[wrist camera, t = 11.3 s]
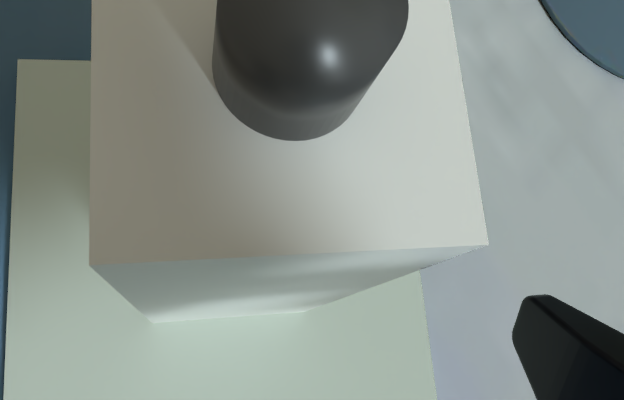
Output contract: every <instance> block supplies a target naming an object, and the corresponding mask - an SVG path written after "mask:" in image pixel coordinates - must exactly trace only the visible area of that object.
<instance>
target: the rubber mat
mask: <svg viewBox="0 0 624 400" xmlns="http://www.w3.org/2000/svg"><path fill="white" fill-rule="evenodd" d="M90 111H91V61H80V60H33V59H18V64H17V88H16V112H15V135H14V159H13V183H12V207H11V231H10V254H9V278H8V302H7V326H6V350H5V373H4V397H3V400H437V395H436V388H435V380H434V373H433V365H432V358H431V351H430V343H429V336H428V328H427V321H426V313H425V306H424V298H423V291H422V283H421V276H420V270H418V271H415V272H413V273H410V274H407V275H404V276H402V277H399V278H396V279H393V280H391V281H388V282H385V283H382V284H380V285H377V286H374V287H371V288H369V289H366V290H363V291H360V292H358V293H355V294H352V295H349V296H347V297H344V298H341V299H338V300H336V301H333V302H330V303H327V304H325V305H322V306H319V307H316V308H314V309H311V310H308V311H305V312H295V313H281V314H268V315H255V316H241V317H228V318H214V319H201V320H187V321H174V322H160V323H152V322H150V321H149V320H148V319H147V318H146V317H145V316H144V315H143V314H142V313H141V312H139V311H138V310H137V309H136V308H135V307H134V306H133V305H132V304H131V303H130V302H128V301H127V300H126V299H125V298H124V297H123V296H122V295H121V294H120V293H119V292H118V291H116V290H115V289H114V288H113V287H112V286H111V285H110V284H109V283H108V282H107V281H105V280H104V279H103V278H102V277H101V276H100V275H99V274H98V273H97V272H96V271H94V270H93V269H92V268H91V267H90V266H89V200H90Z"/></svg>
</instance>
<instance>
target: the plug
mask: <svg viewBox="0 0 624 400" xmlns="http://www.w3.org/2000/svg"><path fill="white" fill-rule="evenodd" d="M487 245H489V242H488V236H487V230H486V224H485V218H484V211H483V205H482V199H481V193H480V187H479V181H478V175H477V168H476V162H475V156H474V150H473V144H472V138H471V131H470V125H469V119H468V113H467V107H466V101H465V95H464V88H463V82H462V76H461V70H460V64H459V58H458V51H457V45H456V39H455V33H454V27H453V21H452V15H451V8H450V2H449V0H92V22H91V111H90V200H89V266H90V267H91V268H92V269H93V270H94V271H96V272H97V273H98V274H99V275H100V276H101V277H102V278H103V279H104V280H105V281H107V282H108V283H109V284H110V285H111V286H112V287H113V288H114V289H115V290H116V291H118V292H119V293H120V294H121V295H122V296H123V297H124V298H125V299H126V300H127V301H128V302H130V303H131V304H132V305H133V306H134V307H135V308H136V309H137V310H138V311H139V312H141V313H142V314H143V315H144V316H145V317H146V318H147V319H148V320H149V321H150V322H152V323H160V322H174V321H187V320H201V319H214V318H228V317H241V316H255V315H268V314H281V313H295V312H305V311H308V310H311V309H314V308H316V307H319V306H322V305H325V304H327V303H330V302H333V301H336V300H338V299H341V298H344V297H347V296H349V295H352V294H355V293H358V292H360V291H363V290H366V289H369V288H371V287H374V286H377V285H380V284H382V283H385V282H388V281H391V280H393V279H396V278H399V277H402V276H404V275H407V274H410V273H413V272H415V271H418V270H421V269H424V268H426V267H429V266H432V265H435V264H437V263H440V262H443V261H446V260H448V259H451V258H454V257H457V256H459V255H462V254H465V253H468V252H470V251H473V250H476V249H479V248H481V247H484V246H487Z"/></svg>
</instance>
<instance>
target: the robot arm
mask: <svg viewBox="0 0 624 400" xmlns="http://www.w3.org/2000/svg"><path fill="white" fill-rule="evenodd" d="M512 340H513V344H514V347H515V349H516V352H517V354H518V356H519V359H520V361H521V363H522V366H523V368H524V370H525V373H526V375H527V377H528V380H529V382H530V384H531V387H532V389H533V391H534V394H535V396H536V398H537V400H624V334H623V333H621V332H619V331H617V330H615V329H613V328H611V327H609V326H608V325H606V324H604V323H602V322H600V321H598V320H596V319H594V318H592V317H591V316H589V315H587V314H585V313H583V312H581V311H579V310H577V309H575V308H574V307H572V306H570V305H568V304H566V303H564V302H562V301H560V300H558V299H557V298H555V297H553V296H551V295H545V294H544V295H532V296H527V297H526V298H525V299H524V300H523V301H522V304H521V307H520V310H519V313H518V316H517V319H516V322H515V325H514V328H513V332H512Z"/></svg>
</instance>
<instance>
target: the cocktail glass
mask: <svg viewBox="0 0 624 400" xmlns="http://www.w3.org/2000/svg"><path fill="white" fill-rule="evenodd" d="M541 1H542V3H543V5H544V6H545V8H546V10H547V11H548V13H549V15H550V16H551V18H552V20H553V21H554V22H555V24H556V25H557V26H558V27H559V29H560V30H561V31H562V32H563V34H564V35H565V36H566V37H567V39H568V40H570V41H571V42H572V43H573V44H574V45H575V46H576V47H577V48H578V49H579V50H580V51H581V52H582V53H583V54H584V55H586V56H587V57H588V58H590V59H591V60H592V61H594V62H595V63H596V64H598V65H599V66H600V67H602V68H604V69H606V70H608V71H609V72H611V73H613V74H615V75H616V76H618V77H620V78H623V79H624V0H541Z"/></svg>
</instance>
